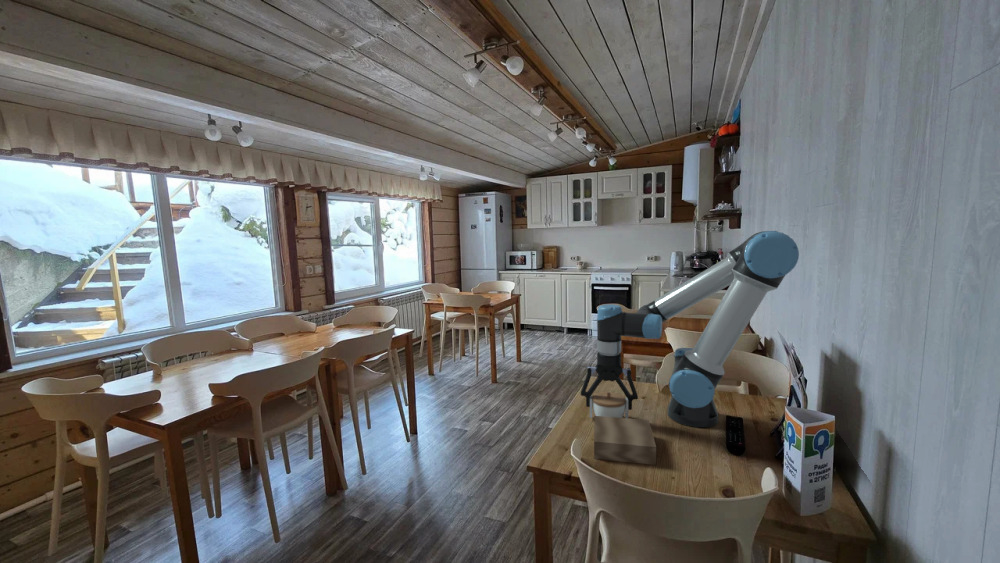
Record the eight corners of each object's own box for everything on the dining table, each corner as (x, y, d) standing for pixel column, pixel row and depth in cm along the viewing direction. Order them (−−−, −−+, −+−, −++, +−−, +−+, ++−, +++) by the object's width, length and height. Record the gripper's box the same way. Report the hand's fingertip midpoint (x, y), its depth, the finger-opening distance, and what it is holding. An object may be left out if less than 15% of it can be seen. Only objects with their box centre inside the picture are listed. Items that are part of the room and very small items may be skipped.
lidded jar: (620, 430, 127) (620, 401, 126) (587, 423, 133) (587, 395, 132) (629, 417, 136) (629, 390, 135) (598, 410, 142) (598, 384, 141)
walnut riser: (648, 435, 124) (648, 419, 123) (655, 464, 108) (656, 447, 108) (594, 430, 127) (594, 415, 127) (594, 458, 112) (594, 441, 111)
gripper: (645, 350, 133) (644, 415, 135) (573, 347, 138) (573, 409, 141) (648, 357, 125) (647, 425, 128) (572, 354, 131) (572, 419, 133)
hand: (608, 417), depth 134 cm, fingers closed on lidded jar, 11 cm apart
